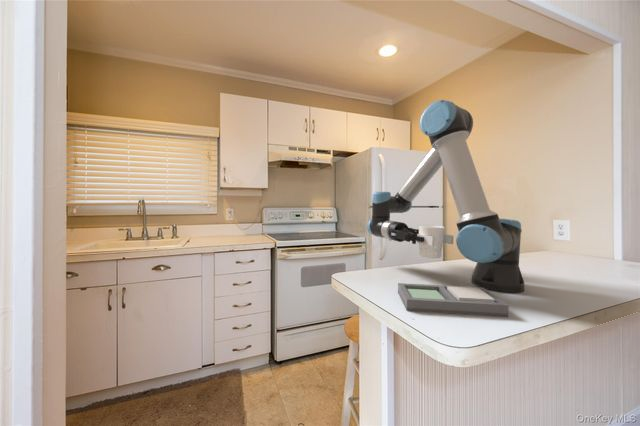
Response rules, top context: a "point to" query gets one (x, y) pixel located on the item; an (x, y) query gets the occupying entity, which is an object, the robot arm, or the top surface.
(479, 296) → the white square tile
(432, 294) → the sage key
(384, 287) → the top surface
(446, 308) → the grey divided tray
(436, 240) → the white cup
